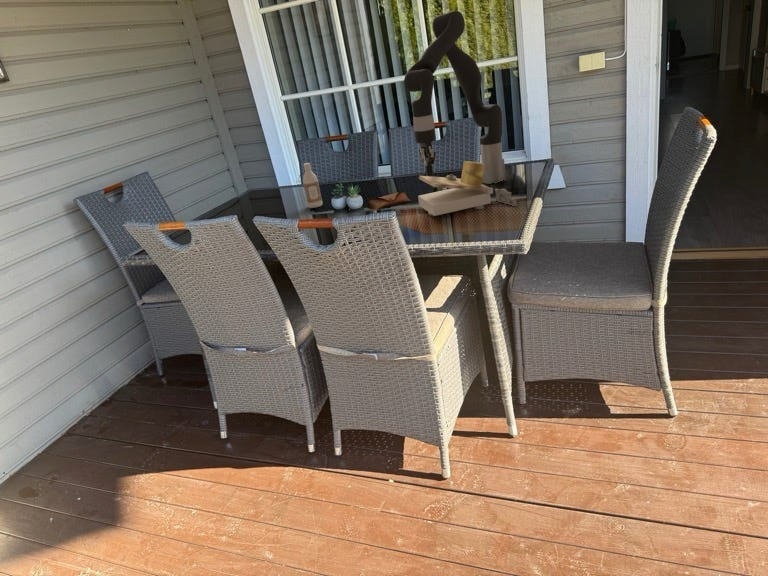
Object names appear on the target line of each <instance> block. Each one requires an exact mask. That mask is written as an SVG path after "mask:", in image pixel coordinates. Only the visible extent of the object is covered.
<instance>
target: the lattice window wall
mask: <svg viewBox="0 0 768 576" xmlns="http://www.w3.org/2000/svg"><path fill="white" fill-rule="evenodd" d="M494 191H495V200H496V201H498V202H497V203H499V202H504V203H506V204H509V205H512V206H514V205H516V206H517V198H513V197H512V193H513V192H511V191H508V190H507V189H506V188H500V189H499V188H495V189H494ZM496 201H495V202H496ZM506 204H505V205H506ZM509 205H508V206H509ZM512 206H511V207H512Z"/></svg>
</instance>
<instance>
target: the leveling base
mask: <svg viewBox="0 0 768 576" xmlns="http://www.w3.org/2000/svg"><path fill="white" fill-rule="evenodd" d="M492 194H494V188H493V187H489V188H488V189H487V190H472V189H456V188H446V189H443V190H439V191H435V192H429V193H425V194H420V195H418V196H417V197H418V204H419V205H418V206H420V207H421V208H422V209H424V210H425V211H427V213H428V215H427V216H433V217H436V216H441V215H444V214H448V213H449V214H450V213H453V212H457V211H461V210H466V209H472V208H474V210H476V209H481V210H484V209H485V205H488V204H492V201H491V200H492V199H491V198H492V197H491V195H492ZM483 208H484V209H483Z"/></svg>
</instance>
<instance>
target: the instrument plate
mask: <svg viewBox="0 0 768 576" xmlns="http://www.w3.org/2000/svg"><path fill="white" fill-rule="evenodd" d="M484 166H485V164H483V163H481V161H480V162H479V161H471V160H464V161H463V164H462V171H461V175H460V176H461V177H460V178H457V176H456V175H454V174H452V173H451V174H449V175H446V177H441V176H432V175H431V176H427V175H418V179H419V180H420V181H422V182H424V183H426V184H428V185H430V186H431V187H433V188H441V189H442V188H443V189H444V188H445V189H452V188H456V189H472V190H485V191H487V189H488V188H490V187H489V186H488V185H486V184H484V183H483V179H482V178H483V172H484Z"/></svg>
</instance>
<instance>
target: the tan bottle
mask: <svg viewBox="0 0 768 576" xmlns="http://www.w3.org/2000/svg"><path fill="white" fill-rule="evenodd" d="M311 166H312V165H311V163H310V162H305V163H303V169H304V174H303V176H302V184H303V189H304V194H305V198H306V202H307V206H308V208H310V209H313V208H318V207H319V208H320V207H322V206H323V199H322V193H321V189H320V185H319V181H318V177H317V175H316V174H315V173H314V172H313V171H312V168H311Z"/></svg>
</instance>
